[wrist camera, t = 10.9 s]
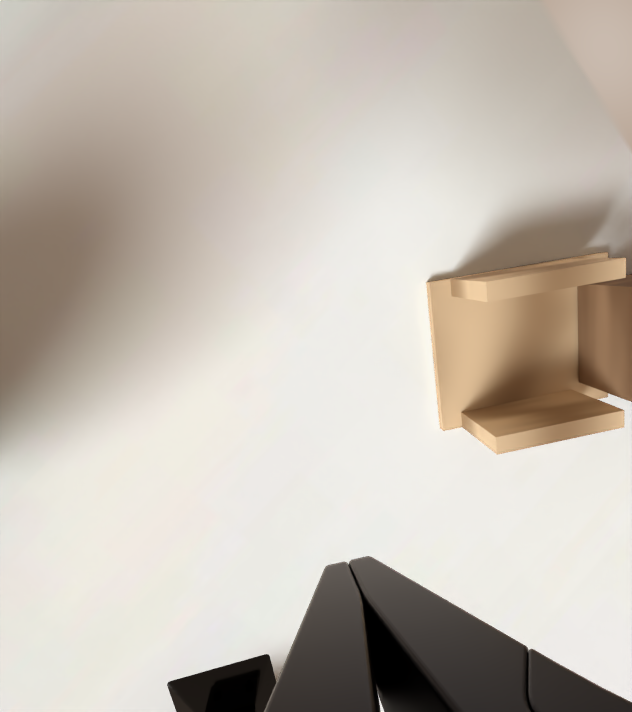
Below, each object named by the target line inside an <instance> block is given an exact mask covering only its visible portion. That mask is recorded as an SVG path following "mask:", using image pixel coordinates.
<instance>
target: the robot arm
mask: <svg viewBox="0 0 632 712" xmlns="http://www.w3.org/2000/svg"><path fill="white" fill-rule="evenodd" d="M377 691H378V692H377ZM378 695H379V698H380V701H381V703H382V706H383V709H384V712H632V702H630V701H628V700H626V699H624V698H622V697H620V696H618V695H616V694H614V693H612V692H610V691H608V690H606V689H604V688H602V687H600V686H598V685H597V684H595V683H593V682H591V681H589V680H587V679H586V678H584V677H582V676H580V675H578V674H576V673H575V672H573V671H571V670H569V669H567V668H565V667H564V666H562V665H560V664H558V663H556V662H555V661H553V660H551V659H549V658H548V657H546V656H544V655H542V654H541V653H539V652H537V651H535V650H534V649H530V650H529V651H528V648H527V647H526V646H525V645H523V644H521V643H520V642H518V641H516V640H515V639H513V638H511V637H509V636H508V635H506V634H504V633H502V632H501V631H499V630H497V629H496V628H494V627H492V626H490V625H489V624H487V623H485V622H483V621H482V620H480V619H478V618H476V617H475V616H473V615H471V614H470V613H468V612H466V611H464V610H463V609H461V608H459V607H457V606H456V605H454V604H452V603H450V602H449V601H447V600H445V599H444V598H442V597H440V596H438V595H437V594H435V593H433V592H431V591H430V590H428V589H426V588H424V587H423V586H421V585H419V584H418V583H416V582H414V581H412V580H411V579H409V578H407V577H405V576H404V575H402V574H400V573H398V572H397V571H395V570H393V569H392V568H390V567H388V566H386V565H385V564H383V563H381V562H379V561H378V560H376V559H374V558H372V557H370V556H366V557H362V558H358V559H353V560H351V561H350V562H349V565H348V563H347V562H340V563H336V564H332V565H328V566H326V567H325V569H324V571H323V573H322V576H321V578H320V581H319V583H318V585H317V588H316V590H315V592H314V595H313V597H312V599H311V602H310V604H309V607H308V609H307V611H306V614H305V616H304V618H303V621H302V623H301V626H300V628H299V630H298V633H297V635H296V637H295V640H294V642H293V644H292V647H291V649H290V652H289V654H288V656H287V659H286V661H285V663H284V666H283V668H282V671H281V673H280V675H279V678H278V680H277V682H276V685H275V687H274V690H273V692H272V694H271V697H270V699H269V701H268V704H267V706H266V708H265V711H264V712H380V705H379V698H378Z"/></svg>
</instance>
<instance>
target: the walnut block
mask: <svg viewBox="0 0 632 712" xmlns="http://www.w3.org/2000/svg"><path fill="white" fill-rule="evenodd" d="M577 299H578V371H579V383H582V384H585V385H587V386H590V387H593V388H596V389H598V390H601V391H604V392H607V393H609V394H612V395H615V396H617V397H620V398H623V399H626V400H628V401H631V402H632V274H630V275H626V278H621V279H616V280H610V281H605V282H599V283H593V284H588V285H582V286H577Z"/></svg>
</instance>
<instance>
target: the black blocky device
mask: <svg viewBox="0 0 632 712" xmlns="http://www.w3.org/2000/svg"><path fill="white" fill-rule="evenodd" d="M275 685H276V680H275V676H274V672H273V668H272V664H271V660H270V656H269V655H267V654H265V655H262V656H258V657H255V658H251V659H248V660H244V661H241V662H237V663H233V664H230V665H226V666H223V667H219V668H216V669H212V670H209V671H205V672H202V673H198V674H195V675H191V676H188V677H184V678H181V679H177V680H173V681H170V682H168V684H167V686H168V689H169V691H170V694H171V697H172V700H173V703H174V706H175V709H176V711H177V712H264V711H265V708H266V706H267V704H268V701H269V699H270V697H271V694H272V692H273V690H274V687H275Z"/></svg>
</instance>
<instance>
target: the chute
mask: <svg viewBox="0 0 632 712" xmlns="http://www.w3.org/2000/svg"><path fill="white" fill-rule="evenodd" d="M621 278H626V258H608V252H602V253H596V254H590V255H584V256H578V257H572V258H566V259H560V260H554V261H549V262H543V263H537V264H531V265H525V266H519V267H513V268H507V269H502V270H496V271H490V272H484V273H478V274H472V275H466V276H460V277H455V278H449V279H443V280H437V281H431V282H426V284H427V295H428V306H429V316H430V327H431V337H432V348H433V359H434V369H435V380H436V390H437V401H438V412H439V422H440V428H441V429H442V430H443V431H445V430H450V429H455V428H460V427H463V428H464V429H465V430H467V431H468V432H469V433H471V434H472V435H473V436H474V437H476V438H477V439H478V440H479V441H481V442H482V443H483V444H484V445H486V446H487V447H488V448H489V449H491V450H492V451H493V452H495V453H496V454H502V453H506V452H511V451H516V450H520V449H525V448H530V447H534V446H539V445H544V444H548V443H553V442H558V441H562V440H567V439H572V438H576V437H581V436H586V435H590V434H595V433H600V432H604V431H609V430H613V429H618V428H623V427H624V410H622V409H620V408H617V407H615V406H612V405H610V404H607V403H605V402H602V401H599V400H597V399H600V398H605V397H608V393H607V392H604V391H601V390H598V389H596V388H593V387H590V386H587V385H585V384H582V383H579V371H578V299H577V286H582V285H588V284H593V283H599V282H605V281H610V280H616V279H621Z"/></svg>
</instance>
